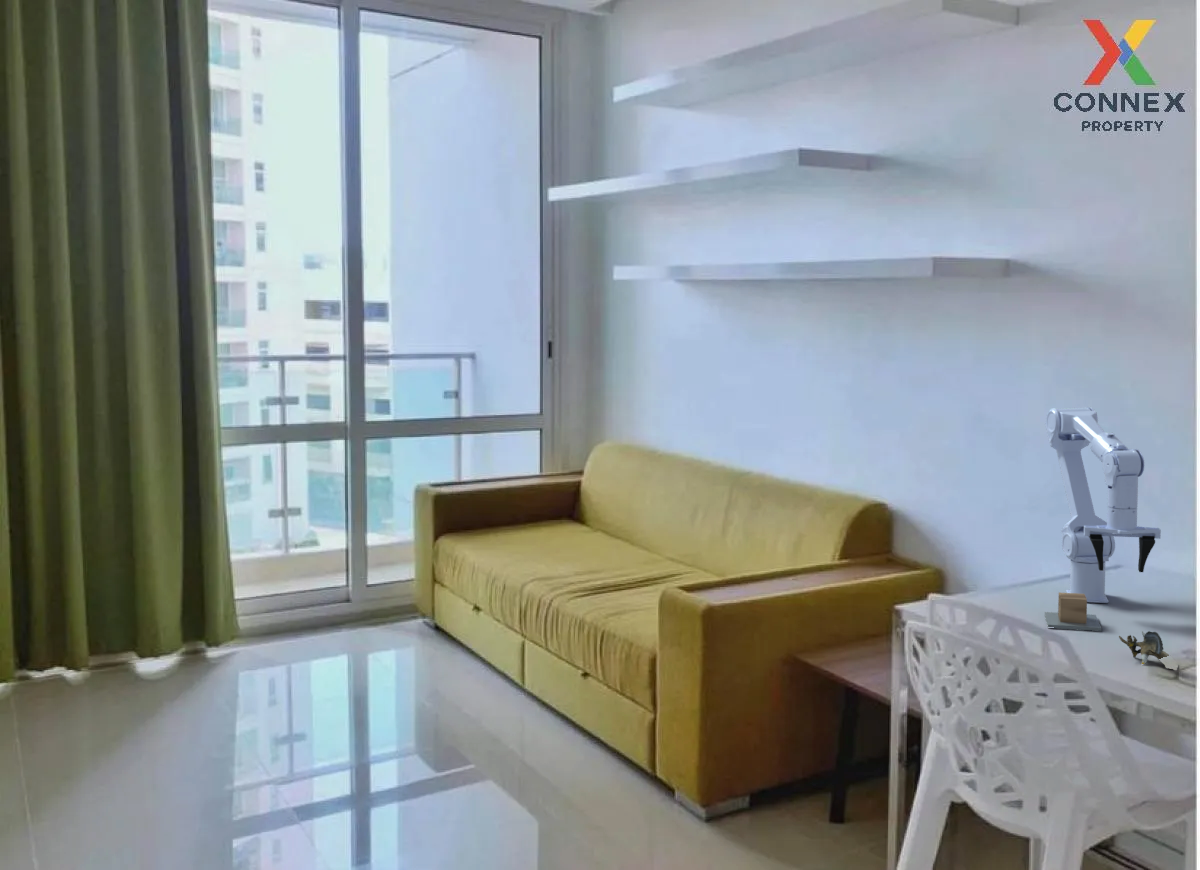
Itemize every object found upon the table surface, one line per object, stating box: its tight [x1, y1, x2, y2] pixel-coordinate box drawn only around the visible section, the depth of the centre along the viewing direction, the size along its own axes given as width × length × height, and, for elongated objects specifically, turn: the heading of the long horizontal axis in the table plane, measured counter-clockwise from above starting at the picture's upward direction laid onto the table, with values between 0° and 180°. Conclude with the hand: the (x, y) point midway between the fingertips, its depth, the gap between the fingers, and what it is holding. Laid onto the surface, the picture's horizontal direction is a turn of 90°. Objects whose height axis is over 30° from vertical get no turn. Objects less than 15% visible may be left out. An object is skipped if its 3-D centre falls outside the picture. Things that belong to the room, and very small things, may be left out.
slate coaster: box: [1044, 611, 1102, 632], centre depth 228 cm, size 10×10×1 cm
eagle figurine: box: [1118, 630, 1170, 665], centre depth 201 cm, size 8×7×9 cm
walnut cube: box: [1057, 592, 1088, 623], centre depth 228 cm, size 5×5×5 cm
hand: (1120, 570), depth 232 cm, fingers open, 7 cm apart
